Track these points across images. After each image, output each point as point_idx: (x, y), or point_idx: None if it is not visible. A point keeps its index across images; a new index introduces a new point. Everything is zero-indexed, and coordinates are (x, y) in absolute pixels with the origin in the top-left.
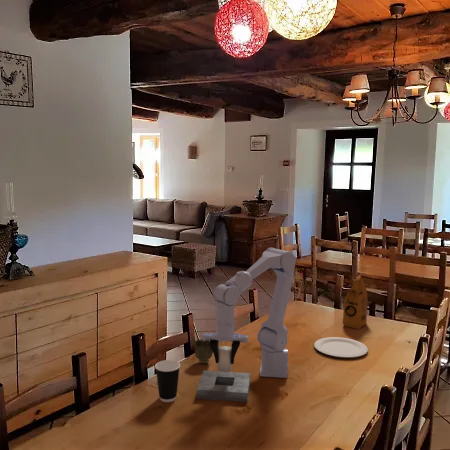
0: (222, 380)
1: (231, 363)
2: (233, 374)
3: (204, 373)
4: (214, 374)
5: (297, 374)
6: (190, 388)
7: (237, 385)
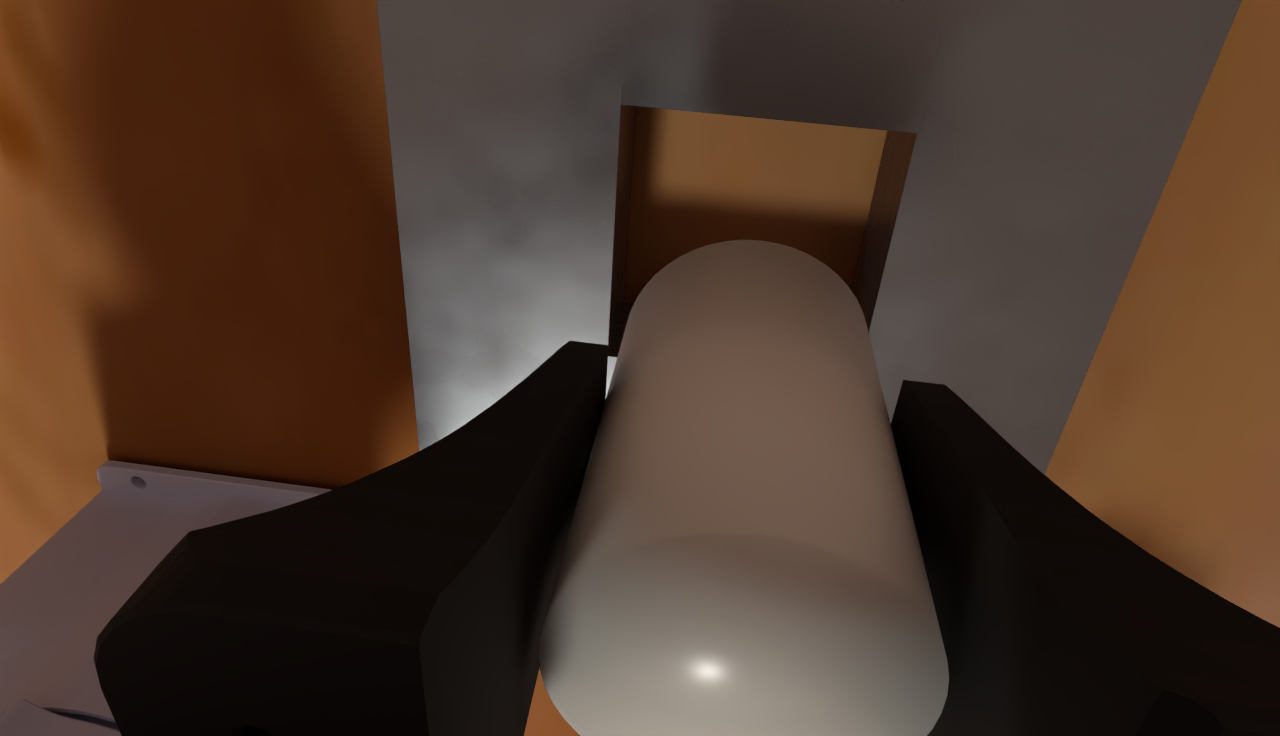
0: None
1: (600, 347)
2: None
3: None
4: None
5: (41, 523)
6: (1213, 238)
7: (552, 120)
